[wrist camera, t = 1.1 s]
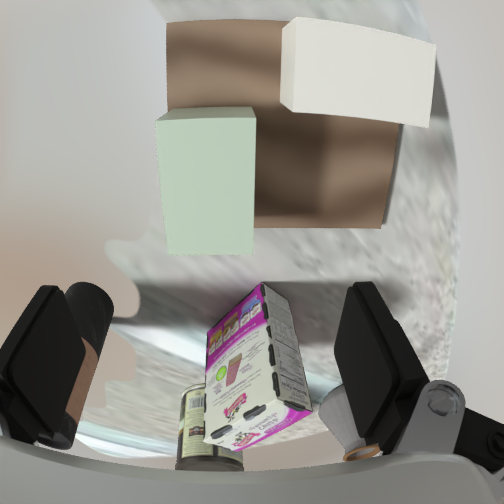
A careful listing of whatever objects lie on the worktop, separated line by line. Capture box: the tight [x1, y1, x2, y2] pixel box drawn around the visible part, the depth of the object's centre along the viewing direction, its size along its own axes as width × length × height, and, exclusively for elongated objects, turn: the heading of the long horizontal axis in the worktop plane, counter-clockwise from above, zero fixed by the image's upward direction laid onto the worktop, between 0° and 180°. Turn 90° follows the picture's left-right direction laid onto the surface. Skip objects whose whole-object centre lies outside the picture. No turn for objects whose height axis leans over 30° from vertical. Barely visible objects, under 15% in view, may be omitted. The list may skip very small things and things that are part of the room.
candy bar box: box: [203, 282, 313, 452], centre depth 34 cm, size 11×5×16 cm, turn 139°
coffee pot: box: [318, 385, 381, 462], centre depth 44 cm, size 21×12×15 cm, turn 12°
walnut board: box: [166, 19, 399, 229], centre depth 28 cm, size 20×22×1 cm
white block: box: [280, 17, 436, 128], centre depth 22 cm, size 11×7×7 cm, turn 89°
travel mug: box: [37, 282, 114, 450], centre depth 31 cm, size 8×8×20 cm
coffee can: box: [175, 384, 244, 472], centre depth 46 cm, size 10×10×14 cm
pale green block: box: [155, 107, 256, 255], centre depth 27 cm, size 11×7×7 cm, turn 179°
